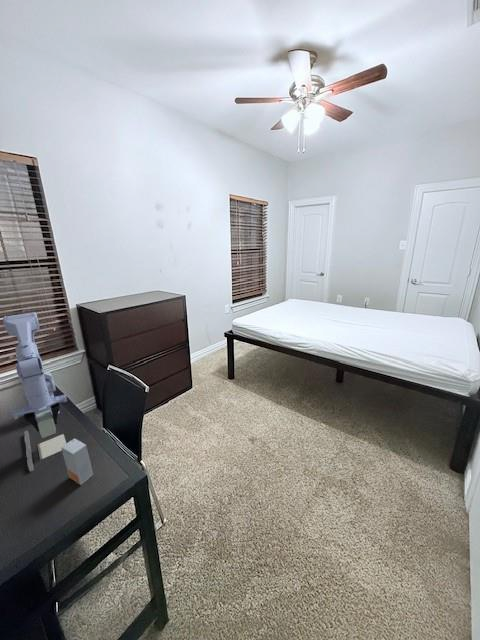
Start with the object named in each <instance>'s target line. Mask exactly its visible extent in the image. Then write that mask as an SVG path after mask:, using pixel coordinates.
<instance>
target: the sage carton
mask: <svg viewBox="0 0 480 640" xmlns="http://www.w3.org/2000/svg"><path fill="white" fill-rule="evenodd" d="M36 417H37V418H36ZM35 418H36V419H37V424H38V428H39V431H38V432H39V433H40V436H41V438H42V439H44V438H47V437H49V436H52V435H54V434H57V431H56V430H57V428H56V425H55V424H54V420H53V416H52V413H51V412H50V410H48V411H46V412H43V413H40V414H37V415H36V416H35Z"/></svg>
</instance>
